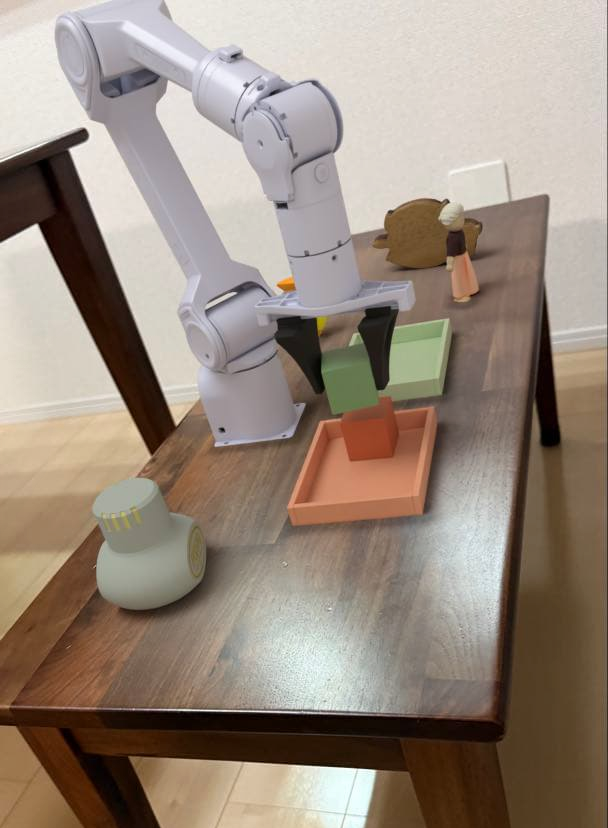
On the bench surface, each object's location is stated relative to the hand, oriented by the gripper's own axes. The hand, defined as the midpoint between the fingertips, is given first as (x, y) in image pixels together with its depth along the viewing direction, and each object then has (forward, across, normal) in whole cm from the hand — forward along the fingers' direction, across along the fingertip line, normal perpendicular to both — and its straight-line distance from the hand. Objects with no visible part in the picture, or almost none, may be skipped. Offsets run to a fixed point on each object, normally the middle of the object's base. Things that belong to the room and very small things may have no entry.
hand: (352, 387), depth 79 cm
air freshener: (+9, +14, +19) cm, 26 cm away
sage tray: (+9, +3, -20) cm, 22 cm away
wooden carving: (+9, +7, -57) cm, 58 cm away
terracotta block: (+8, 0, -2) cm, 9 cm away
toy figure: (+9, +18, -33) cm, 38 cm away
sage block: (+1, 0, 0) cm, 1 cm away
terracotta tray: (+9, 0, +2) cm, 9 cm away
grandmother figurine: (+9, -1, -42) cm, 43 cm away
